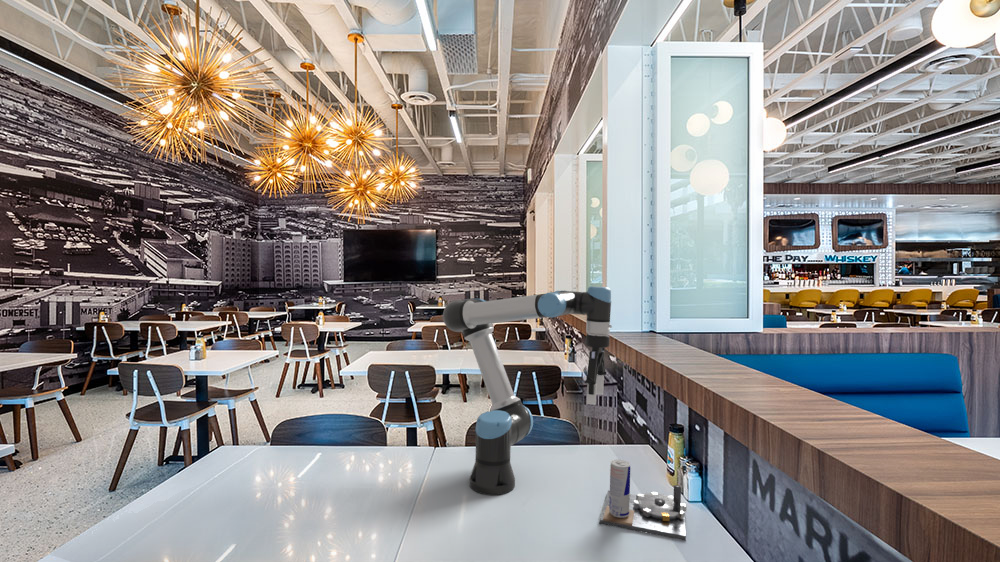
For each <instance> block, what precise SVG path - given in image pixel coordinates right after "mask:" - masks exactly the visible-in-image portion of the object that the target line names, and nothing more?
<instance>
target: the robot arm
mask: <svg viewBox="0 0 1000 562" xmlns="http://www.w3.org/2000/svg"><path fill="white" fill-rule="evenodd" d="M611 307H612V290H611V289H610V287H607V286H588V288H587V291H572V290H571V291H569V290H555V291H552V292H551V291H550V292H546V293H540V294H533V295H524V296H518V297H517V296H516V297H510V298H501V299H494V300H485V299H482V298H473V297H472V298H467V299H466V298H465V299H464V298H463V299H456V300H452V301H451V302H449V303H447V304H446V306H445V307H444V310H443V313H442V320H443V323H444V325H445V327H446V328H448V330H450V331H451V332H455V333H462V335H463V338H464V340H465V341H468V342H469V343H470V345H471V348H472V351H473V354H474V355H473V356H474V357H475V359H476V362H477V365H478V369H479V371H480V374H481V376H482V379H483V382H484V385H485V388H486V391H487V393H488V396H489V399H490V401H491V407H490V410H489V411H485V412H483V413H481V414H480V415H478V417H477V418H476V422H475V423H476V425H475V459H474V460H475V461H474V464H473V467H472V470H471V473H470V476H469V487H470V489H471V490H473V491H474V492H476V493H479V494H483V495H487V496H488V495H490V496H495V495H503V494H507V493H509V492H511V491H513V490H514V488H515V487H516V478H515V477H516V476H515V474H514V470H513V467H512V463H511V452H512V451H511V449H512V446H514V445H515V444H517V443H518V442H520V441H522V440H524V439H525V438H526V437H527V436H528V435H529V434H530V433H531V432H532V429H533V425H534V417H533V414H532V413H531V411H530V409H529V408H528V407H527V406H525V405H523V403H522V400H521V398H520V397H517V396H516V395H515V393H514V391H513V389H512V385H511V383H510V379H509V377H508V373H507V372H506V368H505V367H504V364H503V361H502V358H501V355H500V352H499V350H498V348H497V345H496V342H495V339H494V337H493V334H492V333H493V331H494V329H495V328H494V325H493V324H498V323H507V322H508V323H509V322H515V321H517V322H518V321H525V320H535V319H543V318H544V319H545V318H558V317H560V316H565V315H582V316H586V324H585V327H586V328H585V332H586V335H585V345H586V346H587V347H591V351H588V354H589V355H588V365H587V373H586V379H585V380H584V384H586V385H587V388H586V389H587V390H586V405H592V406H596V404H597V395H600V396H603V395H604V382H605V380H604V379H605V376H607V371H606V361H605V349H606V348H608V347H610V339H611V337H610V335H609V334H610V333H611V332H610V330H611V328H613V326H612V324H611Z"/></svg>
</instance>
